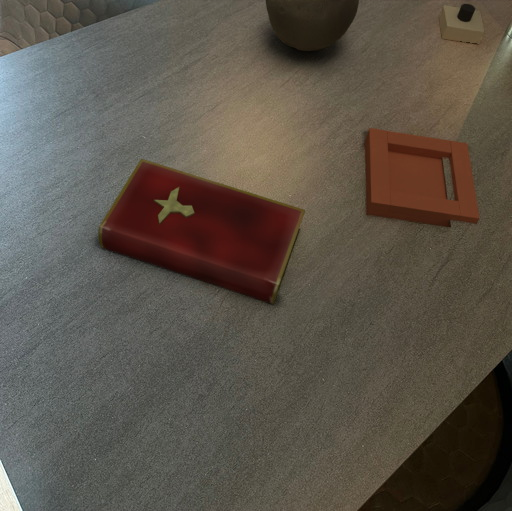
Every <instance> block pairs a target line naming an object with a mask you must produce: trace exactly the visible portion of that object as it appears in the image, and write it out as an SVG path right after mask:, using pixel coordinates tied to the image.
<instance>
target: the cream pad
mask: <svg viewBox="0 0 512 511" xmlns="http://www.w3.org/2000/svg"><path fill="white" fill-rule="evenodd" d="M482 19H483V18H482V14H481V11H480V10H478V9H476V7H475V6H474V5H472V4H471V3H462V4H461V5H460V7H459V6H454V5H447V4H443V6H442V8H441V10H440V14H439V16H438V21H439V27H440V35H441V39H442V40H449V41H454V42H460V41H462V42H461V43H466V42H470V43H469V44H472V43H479V44H480V42H481V41H482V39H483V37H484V34H485V27H484V24H483V20H482Z"/></svg>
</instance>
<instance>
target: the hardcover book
mask: <svg viewBox="0 0 512 511" xmlns="http://www.w3.org/2000/svg"><path fill="white" fill-rule="evenodd" d="M305 214H306V209H304V208H300V207H297V206H294V205H291V204H287V203H284V202H282V201H279V200H275V199H272V198H268V197H266V196H262V195H259V194H255V193H253V192H250V191H246V190H243V189H239V188H237V187H233V186H231V185H227V184H224V183H220V182H217V181H214V180H212V179H208V178H205V177H202V176H198V175H194V174H192V173H189V172H186V171H182V170H178V169H176V168H173V167H170V166H166V165H164V164H160V163H156V162H154V161H151V160H148V159H144V158H140V160H139V161H138V163H137V164H136V166H135V168H134V169H133V170H132V172H131V174H130V176H129V177H128V179H127V180H126V182H125V184H124V185H123V187H122V189H121V190H120V192H119V194H118V195H117V197H116V198H115V200H114V201H113V203H112V205H111V207H110V208H109V209H108V211H107V212H106V215H105V216H104V217H103V220H102V221H101V222H100V224H99V226H98V230H97V233H98V243H99V244H98V245H99V247H100V248H101V249H104V250H107V251H110V252H113V253H116V254H120V255H123V256H125V257H128V258H131V259H134V260H138V261H141V262H144V263H147V264H150V265H153V266H156V267H158V268H162V269H165V270H167V271H171V272H173V273H177V274H179V275H183V276H186V277H188V278H192V279H195V280H199V281H201V282H205V283H208V284H211V285H214V286H216V287H220V288H224V289H226V290H229V291H232V292H235V293H239V294H240V295H244V296H247V297H250V298H254V299H257V300H259V301H263V302H265V303H269V304H271V305H275V303H276V300H277V296H278V294H279V291H280V288H281V286H282V282H283V280H284V276H285V275H286V270H287V268H288V265H289V262H290V259H291V256H292V254H293V251H294V248H295V246H296V242H297V239H298V237H299V234H300V230H301V224H302V222H303V220H304V216H305Z"/></svg>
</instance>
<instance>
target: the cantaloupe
mask: <svg viewBox="0 0 512 511" xmlns="http://www.w3.org/2000/svg"><path fill="white" fill-rule="evenodd" d="M359 3H360V0H265V7H266V11H267V16H268V20H269V23H270V26H271V28H272V30H273V32H274V34H275V35H276V36H277V38H278V39H279V40H280V41H281V43H284V44H286V45H287V47H291V48H295V49H296V50H297V51H301V52H312V51H318V50H319V51H321V50H323V49H325V48H328V47H330V46H331V45H333V44H335V43H336V42H337V41H339V40H340V39H342V37H343V36H344V35H346V32H347V31H348V30H349V28H350V27H351V25H352V23H353V22H354V20H355V18H356V16H357V13H358V9H359Z"/></svg>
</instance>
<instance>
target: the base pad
mask: <svg viewBox="0 0 512 511" xmlns="http://www.w3.org/2000/svg"><path fill="white" fill-rule="evenodd" d="M364 155H365V156H364V159H365V166H364V167H365V211H366V212H365V214H366V215H367V216H372V217H380V218H386V219H393V220H399V221H406V222H410V223H411V222H412V223H420V224H426V225H432V226H438V227H444V228H452V222H451V221H455V222H456V221H458V222H464V223H470V224H477V223H478V222H479V220H480V219H481V218H480V212H479V206H478V200H477V193H476V187H475V182H474V181H475V180H474V175H473V170H472V163H471V156H470V150H469V145H468V143H467V142H461V141H456V140H450V139H449V140H448V139H442V138H435V137H429V136H423V135H416V134H411V133H404V132H397V131H391V130H387V129H386V130H385V129H381V128H380V129H379V128H373V127H369V128H368V130H367V134H366V137H365V140H364ZM444 158H447V159H449V167H450V174H451V181H452V190H453V196H454V199H449V198H448V191H447V183H446V174H445V168H444V167H445V166H444Z"/></svg>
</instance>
